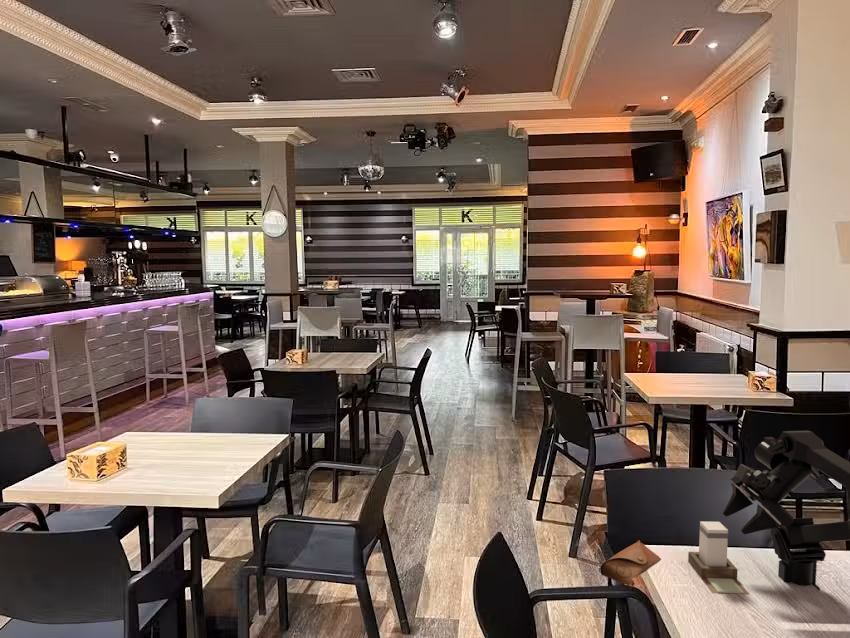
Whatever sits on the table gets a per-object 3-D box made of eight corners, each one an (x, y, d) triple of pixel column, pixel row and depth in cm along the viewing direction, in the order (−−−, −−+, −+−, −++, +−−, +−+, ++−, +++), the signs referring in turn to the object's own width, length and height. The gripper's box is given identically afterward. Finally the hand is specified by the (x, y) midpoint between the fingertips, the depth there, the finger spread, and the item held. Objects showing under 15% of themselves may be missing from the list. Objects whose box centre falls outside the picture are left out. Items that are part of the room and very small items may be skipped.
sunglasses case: (632, 588, 134) (619, 558, 136) (608, 592, 138) (596, 563, 140) (668, 561, 146) (655, 534, 148) (644, 565, 151) (632, 540, 153)
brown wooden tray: (721, 566, 143) (722, 552, 143) (749, 598, 129) (750, 583, 129) (688, 565, 144) (688, 551, 143) (712, 597, 130) (712, 582, 129)
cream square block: (717, 565, 142) (719, 521, 141) (726, 575, 137) (728, 530, 136) (698, 565, 142) (699, 521, 141) (706, 575, 137) (708, 529, 136)
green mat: (732, 579, 135) (732, 578, 135) (743, 593, 129) (743, 592, 129) (707, 579, 135) (707, 578, 135) (717, 592, 130) (717, 591, 130)
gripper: (740, 442, 145) (693, 484, 147) (782, 469, 127) (727, 517, 129) (771, 473, 146) (724, 515, 148) (817, 504, 127) (762, 552, 129)
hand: (733, 523), depth 138 cm, fingers open, 9 cm apart
